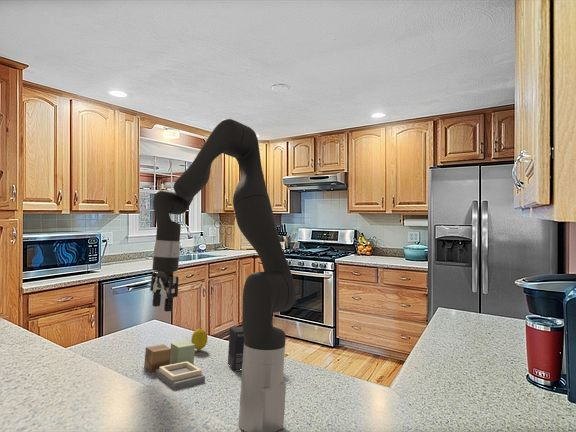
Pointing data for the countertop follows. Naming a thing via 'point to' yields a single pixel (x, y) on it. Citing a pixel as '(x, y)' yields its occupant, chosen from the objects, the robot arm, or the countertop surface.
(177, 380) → the base board
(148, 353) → the walnut block
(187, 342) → the sage block
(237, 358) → the small box
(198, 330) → the lemon
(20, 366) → the countertop surface
